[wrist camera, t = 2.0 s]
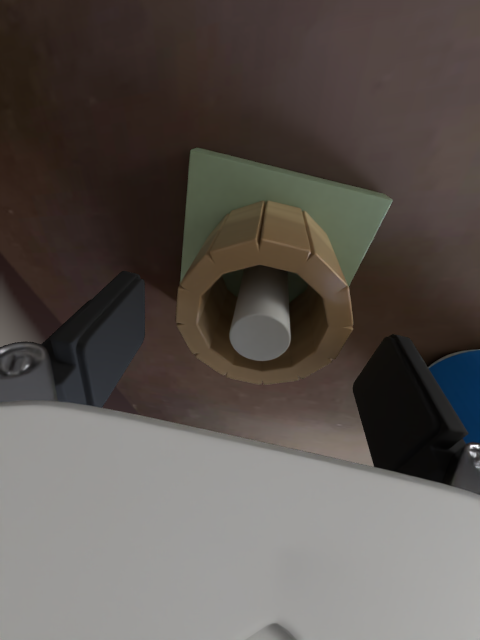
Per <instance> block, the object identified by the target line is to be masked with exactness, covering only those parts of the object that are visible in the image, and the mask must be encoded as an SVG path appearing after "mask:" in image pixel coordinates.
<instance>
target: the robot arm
mask: <svg viewBox="0 0 480 640" xmlns="http://www.w3.org/2000/svg"><path fill="white" fill-rule="evenodd" d="M144 336H145V283H144V280H143V279H140V275H139V274H135V273H131V272H127V271H122V272H121V273H119V274H118V275H117V276H116V277H115V278H114V279H113V280H112V281H111V282H110V283H109V284H108V285H107V286H106V287H104V288H103V289H102V290H101V291H100V292H99V293H98V294H97V295H96V296H95V297H94V298H93V299H92V300H89V301H88V302H87V303H86V304H84V305H83V306H82V307H81V308H80V309H79V310H78V311H77V312H76V313H75V314H74V315H73V316H72V317H70V318H69V319H68V320H67V321H66V322H65V323H64V324H63V325H62V326H61V327H60V328H59V329H57V331H56V332H54V333H53V334H52V335H51V336H50V337H49V338H48V339H47V340H46V341H45V342H43V343H42V344H37V343H34V342H17V343H12V344H8V345H5V346H3V347H0V640H480V443H476V442H470V443H467V444H466V443H465V441H464V439H463V438H464V437H465V436H466V435H468V434H469V433H468V432H467V430H466V428H465V427H464V425H463V423H462V422H461V420H460V419H459V417H458V415H457V414H456V412H455V410H454V409H453V407H452V406H451V404H450V402H449V401H448V399H447V398H446V396H445V394H444V393H443V391H442V389H441V388H440V386H439V385H438V383H437V381H436V380H435V378H434V376H433V375H432V373H431V372H430V370H429V368H428V367H427V365H426V364H425V362H424V360H423V359H422V357H421V355H420V354H419V352H418V351H417V349H416V347H415V346H414V344H413V342H412V341H411V340H410V338H407V337H403V336H399V335H395V334H392V335H390V336H389V337H385V338H384V339H383V341H382V342H381V344H380V345H379V347H378V348H377V350H376V351H375V352H374V354H373V355H372V357H371V358H370V360H369V361H368V363H367V364H366V366H365V367H364V369H363V370H362V372H361V373H360V375H359V376H358V378H357V379H356V381H355V382H354V385H353V393H354V396H355V400H356V404H357V407H358V411H359V414H360V418H361V421H362V425H363V428H364V432H365V436H366V439H367V443H368V446H369V450H370V453H371V457H372V460H373V464H374V467H372V466H367V465H363V464H358V463H354V462H350V461H345V460H341V459H336V458H332V457H328V456H323V455H319V454H314V453H310V452H305V451H301V450H296V449H292V448H287V447H283V446H278V445H274V444H269V443H265V442H260V441H256V440H251V439H247V438H242V437H238V436H233V435H229V434H224V433H220V432H215V431H210V430H206V429H201V428H196V427H192V426H187V425H183V424H178V423H173V422H169V421H164V420H159V419H155V418H150V417H145V416H140V415H135V414H130V413H125V412H120V411H115V410H110V409H105V408H102V407H103V405H104V403H105V402H106V400H107V399H108V397H109V396H110V394H111V392H112V391H113V389H114V388H115V386H116V384H117V383H118V381H119V380H120V378H121V376H122V375H123V373H124V372H125V370H126V368H127V367H128V365H129V364H130V362H131V360H132V359H133V357H134V356H135V354H136V352H137V351H138V349H139V348H140V346H141V344H142V343H143V340H144Z"/></svg>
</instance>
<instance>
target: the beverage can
mask: <svg viewBox="0 0 480 640" xmlns="http://www.w3.org/2000/svg"><path fill="white" fill-rule="evenodd" d="M428 368H429V370H430V372H431V373H432V375H433V376H434V378H435V380H436V381H437V383H438V385H439V386H440V388H441V389H442V391H443V393H444V394H445V396H446V398H447V399H448V401H449V402H450V404H451V406H452V407H453V409H454V410H455V412H456V414H457V415H458V417H459V419H460V420H461V422H462V423H463V425H464V427H465V428H466V430H467V432H468V433H469V434H468V435H466V436H465V437H464V438H463V439H464V441H465V443H466V444H467V443H470V442H476V443H480V349H478V350H466V351H460V352H456V353H453V354H449V355H447V356H445V357H442V358H440V359H439V360H437V361H435V362H434V363H433V364H431V365H430V366H429V367H428Z"/></svg>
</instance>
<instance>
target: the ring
mask: <svg viewBox="0 0 480 640" xmlns="http://www.w3.org/2000/svg"><path fill="white" fill-rule="evenodd" d="M256 265H263V266H267V267H272V268H276V269H280V270H284V271H288V272H293V273H297V274H298V275H299V276H300V277H301V278H302V279H303V280H304V281H305V282H306V283H307V284H308V286H307V289H306V290H305V291H304V292H303V293H301V294H300V295H299V296H298V297H296V298H295V299H294V300H292V301H291V302H290V303H289V314H290V335H291V340H290V344H289V346H288V348H287V350H286V351H285V352H284V353H283V354H282V355H280V356H279V357H277V358H275V359H272V360H267V361H256V360H252V359H248V358H246V357H244V356H242V355H240V354H239V353H238V352H237V351H236V350H235V349H234V348H233V346H232V344H231V342H230V338H229V333H230V328H231V324H232V320H233V316H234V311H235V307H236V303H237V299H238V297H236V296H235V295H234V294H233V293H231V292H230V291H229V290H228V289H227V287H226V284H225V282H224V279H223V277H222V275H223V274H225V273H229V272H233V271H237V270H241V269H245V268H249V267H252V266H256ZM175 321H176V322H177V328H178V329H179V331H180V333H181V335H182V336H183V338H184V340H185V342H186V343H187V345H188V347H189V349H190V350H191V352H192V354H196V355H195V357H196V358H198V359H199V360H201V361H202V362H204V363H205V364H207V365H208V366H210V367H211V368H213V369H214V370H216V371H217V372H218V373H220V374H221V375H225V374H226V377H228V378H232V379H236V380H241V381H245V382H250V383H254V384H258V385H261V383H262V382H263V384H264V385H267V384H275V383H282V382H290V381H298V380H299V377H300V378H301V379H304V378H305V377H307V376H309V375H311V374H312V373H314V372H316V371H317V370H319V369H321V368H323V367H324V366H326V365H328V364H329V363H331V362H332V361H333V360H332V359H336V357H337V356H338V354H339V352H340V350H341V349H342V347H343V345H344V344H345V342H346V340H347V339H348V337H349V335H350V333H351V332H352V330H353V328H352V325H353V315H352V307H351V299H350V291H349V287H348V285H347V282H346V280H345V277H344V275H343V273H342V270H341V268H340V265H339V263H338V260H337V258H336V255H335V253H334V250H333V248H332V245H331V243H330V240H329V238H328V236H327V234H326V233H325V231H324V230H323V229H322V228H321V227H320V226H319V225H318V224H317V223H316V222H315V221H314V220H313V219H312V218H311V217H310V215H309V214H308V213H307V212H306V211H303V212H302V210H301V209H300V208H297V207H293V206H289V205H285V204H281V203H277V202H273V201H267V202H266V205H265V202H264V201H260V202H257V203H254V204H251V205H248V206H244V207H241V208H238V209H235V210H232V211H231V212H230V214H227V215H226V216H225V217H224V218H223V219H222V221H221V222H220V223H219V224H218V225H217V226H216V228H215V229H214V230H213V231H212V232H211V234H210V235H209V236H208V238H207V239H206V241H205V243H204V244H203V246H202V248H201V249H200V251H199V253H198V254H197V256H196V257H195V259H194V261H193V262H192V264H191V266H190V267H189V269H188V271H187V272H186V274H185V276H184V277H183V279H182V281H181V282H180V286H179V287H178V292H177V305H176V319H175Z"/></svg>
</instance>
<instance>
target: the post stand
mask: <svg viewBox="0 0 480 640" xmlns="http://www.w3.org/2000/svg"><path fill="white" fill-rule="evenodd" d="M260 201H264V202H265V205H266V202H267V201H273V202H277V203H281V204H285V205H289V206H293V207H297V208H300V209H301V210H302V212H303V211H306V212H307V213H308V214H309V215H310V217H311V218H312V219H313V220H314V221H315V222H316V223H317V224H318V225H319V226H320V227H321V228H322V229H323V230H324V231H325V233H326V234H327V236H328V238H329V240H330V243H331V245H332V248H333V250H334V253H335V255H336V258H337V260H338V263H339V265H340V268H341V270H342V273H343V275H344V277H345V280H346V282H347V285H348V287H349V285H350V283H351V281H352V279H353V277H354V275H355V273H356V271H357V269H358V267H359V265H360V263H361V261H362V260H363V258H364V256H365V254H366V252H367V250H368V248H369V246H370V244H371V242H372V240H373V238H374V236H375V234H376V232H377V230H378V228H379V226H380V224H381V222H382V220H383V218H384V216H385V214H386V212H387V211H388V209H389V207H390V205H391V203H392V199H390V198H389V197H388V196H386V195H385V194H382V193H378V192H374V191H370V190H366V189H362V188H358V187H354V186H350V185H346V184H342V183H338V182H334V181H330V180H326V179H322V178H318V177H314V176H310V175H306V174H302V173H298V172H294V171H290V170H286V169H282V168H278V167H274V166H270V165H266V164H262V163H258V162H254V161H250V160H246V159H242V158H238V157H233V156H229V155H225V154H221V153H217V152H213V151H209V150H205V149H201V148H195V149H192V150H190V160H189V173H188V186H187V199H186V212H185V225H184V238H183V251H182V264H181V277H180V282H181V281H182V279H183V277H184V276H185V274H186V272H187V271H188V269H189V267H190V266H191V264H192V262H193V261H194V259H195V257H196V256H197V254H198V253H199V251H200V249H201V248H202V246H203V244H204V243H205V241H206V239H207V238H208V236H209V235H210V234H211V232H212V231H213V230H214V229H215V228H216V226H217V225H218V224H219V223H220V222H221V221H222V219H223V218H224V217H225V216H226V215H227V214H230V212H231V211H232V210H235V209H238V208H241V207H244V206H248V205H251V204H254V203H257V202H260ZM222 277H223V279H224V282H225V284H226V287H227V289H228V290H229V291H230V292H231V293H233V294H234V295H235V296H236V297H238V299H237V303H236V307H235V311H234V316H233V320H232V324H231V328H230V333H229V338H230V342H231V344H232V346H233V348H234V349H235V350H236V351H237V352H238V353H239V354H240V355H242V356H244V357H246V358H248V359H252V360H256V361H267V360H272V359H275V358H277V357H279V356H280V355H282V354H283V353H284V352H285V351H286V350H287V348H288V346H289V344H290V340H291V335H290V314H289V303H290V302H291V301H292V300H294V299H295V298H296V297H298V296H299V295H300V294H301V293H303V292H304V291H305V290H306V289H307V286H308V284H307V283H306V282H305V281H304V280H303V279H302V278H301V277H300V276H299V275H298V274H297V273H293V272H288V271H284V270H280V269H276V268H272V267H267V266H263V265H256V266H252V267H249V268H245V269H241V270H237V271H233V272H229V273H225V274H223V275H222Z"/></svg>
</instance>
